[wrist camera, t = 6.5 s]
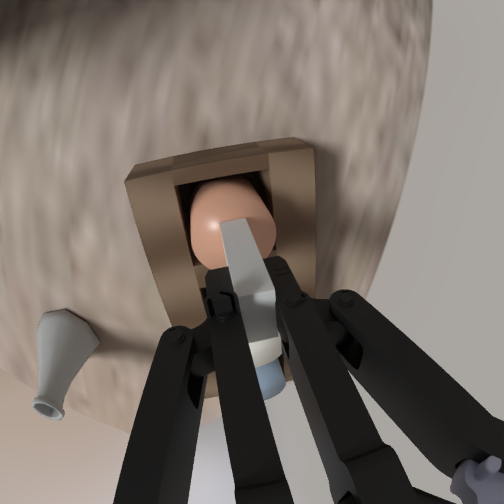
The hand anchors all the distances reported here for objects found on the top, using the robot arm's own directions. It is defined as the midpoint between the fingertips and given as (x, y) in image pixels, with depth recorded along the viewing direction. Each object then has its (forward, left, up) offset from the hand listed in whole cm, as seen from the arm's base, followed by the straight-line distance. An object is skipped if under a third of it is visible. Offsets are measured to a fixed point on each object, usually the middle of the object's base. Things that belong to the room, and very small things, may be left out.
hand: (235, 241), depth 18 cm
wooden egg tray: (+8, 0, -7) cm, 10 cm away
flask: (+11, -19, -7) cm, 23 cm away
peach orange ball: (0, 0, -5) cm, 5 cm away
